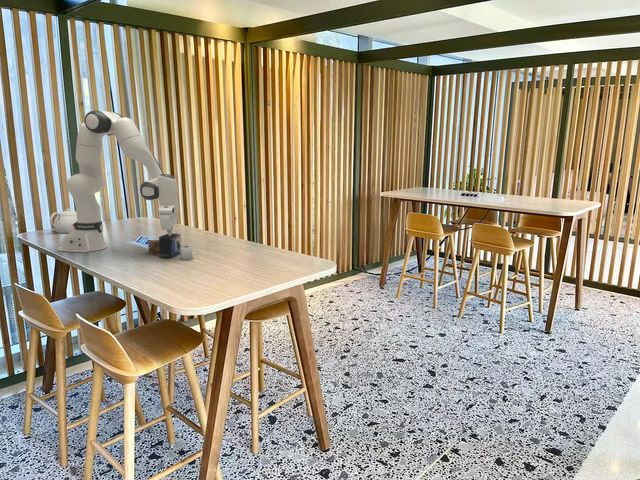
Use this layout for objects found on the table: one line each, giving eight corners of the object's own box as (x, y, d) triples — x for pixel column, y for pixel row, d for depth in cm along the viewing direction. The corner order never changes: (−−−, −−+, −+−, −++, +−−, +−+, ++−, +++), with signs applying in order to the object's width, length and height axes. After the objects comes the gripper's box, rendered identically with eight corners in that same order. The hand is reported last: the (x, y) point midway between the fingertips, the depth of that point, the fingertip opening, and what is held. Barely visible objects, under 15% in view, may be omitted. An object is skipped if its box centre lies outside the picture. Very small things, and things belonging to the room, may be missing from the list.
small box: (171, 258, 223) (170, 237, 221) (158, 257, 225) (158, 236, 222) (181, 253, 233) (181, 233, 231) (170, 252, 235) (169, 232, 232)
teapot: (53, 229, 281) (51, 207, 278) (87, 227, 289) (85, 206, 286) (50, 235, 265) (48, 211, 262) (86, 233, 272) (84, 210, 270)
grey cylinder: (179, 260, 221) (179, 247, 220) (181, 257, 226) (181, 245, 225) (191, 260, 222) (190, 248, 220) (193, 257, 227) (193, 245, 226)
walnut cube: (148, 254, 230) (148, 242, 229) (149, 251, 236) (148, 239, 234) (161, 253, 232) (161, 241, 231) (161, 250, 238) (160, 239, 236)
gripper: (167, 204, 234) (168, 231, 237) (156, 210, 214) (158, 239, 217) (179, 204, 234) (181, 231, 237) (170, 210, 214) (172, 239, 217)
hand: (170, 235), depth 227 cm, fingers closed, pressing on small box
